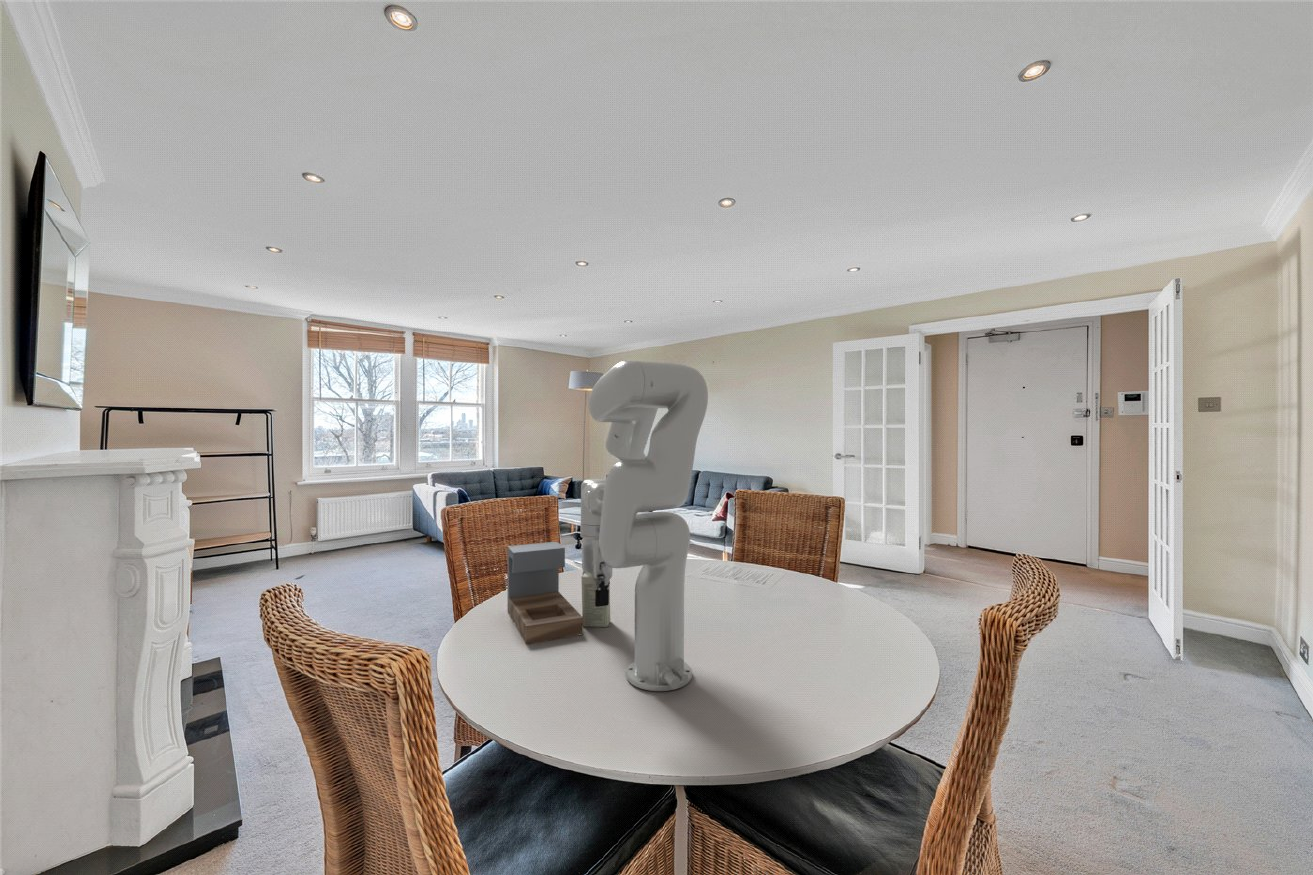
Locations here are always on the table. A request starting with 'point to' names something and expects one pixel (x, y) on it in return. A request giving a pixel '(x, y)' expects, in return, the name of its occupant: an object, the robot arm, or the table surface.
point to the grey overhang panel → (534, 568)
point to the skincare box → (593, 605)
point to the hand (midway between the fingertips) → (595, 599)
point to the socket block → (545, 617)
